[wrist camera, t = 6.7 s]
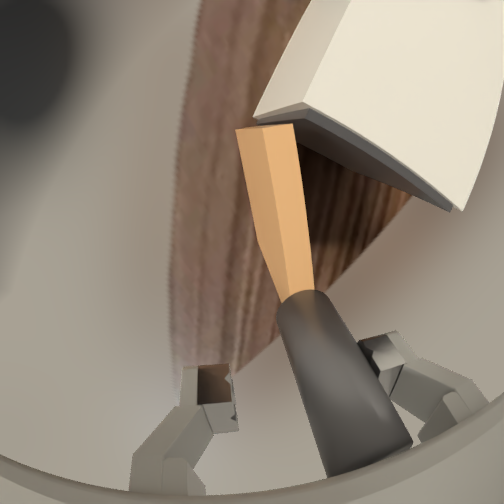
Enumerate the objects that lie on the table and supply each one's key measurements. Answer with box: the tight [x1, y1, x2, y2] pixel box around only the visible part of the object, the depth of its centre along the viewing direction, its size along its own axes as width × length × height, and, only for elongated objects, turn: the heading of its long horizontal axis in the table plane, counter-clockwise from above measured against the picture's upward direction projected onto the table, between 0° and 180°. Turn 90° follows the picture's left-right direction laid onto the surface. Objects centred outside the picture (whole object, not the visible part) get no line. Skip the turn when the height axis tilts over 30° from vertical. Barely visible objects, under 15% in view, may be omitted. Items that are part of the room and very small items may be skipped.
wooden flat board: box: [236, 124, 413, 478], centre depth 12 cm, size 2×9×19 cm, turn 11°
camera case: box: [253, 0, 504, 212], centre depth 12 cm, size 16×10×13 cm, turn 157°
